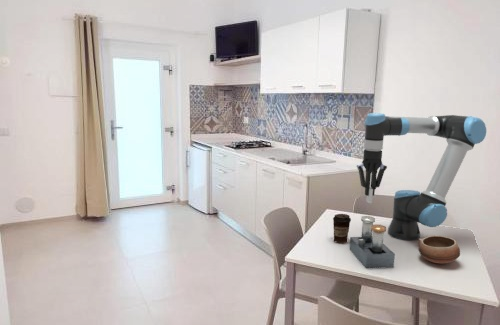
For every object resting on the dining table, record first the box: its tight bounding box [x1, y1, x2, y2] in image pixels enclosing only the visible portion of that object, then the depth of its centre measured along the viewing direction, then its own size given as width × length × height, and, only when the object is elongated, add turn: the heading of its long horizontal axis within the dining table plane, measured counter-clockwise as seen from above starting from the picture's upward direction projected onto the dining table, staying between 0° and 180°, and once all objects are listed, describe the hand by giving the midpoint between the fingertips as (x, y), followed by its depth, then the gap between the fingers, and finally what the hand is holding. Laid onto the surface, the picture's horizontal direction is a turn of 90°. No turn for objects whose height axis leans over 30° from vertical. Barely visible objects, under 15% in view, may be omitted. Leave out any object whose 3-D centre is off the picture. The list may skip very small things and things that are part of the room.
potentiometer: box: [358, 239, 365, 247], centre depth 163 cm, size 3×3×3 cm
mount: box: [349, 236, 396, 269], centre depth 165 cm, size 12×19×6 cm, turn 5°
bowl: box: [417, 235, 461, 264], centre depth 162 cm, size 16×16×10 cm
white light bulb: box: [360, 215, 376, 242], centre depth 168 cm, size 6×6×10 cm
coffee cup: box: [332, 213, 352, 244], centre depth 182 cm, size 9×8×13 cm
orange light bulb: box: [371, 224, 387, 252], centre depth 158 cm, size 6×6×10 cm
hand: (368, 202), depth 166 cm, fingers closed
